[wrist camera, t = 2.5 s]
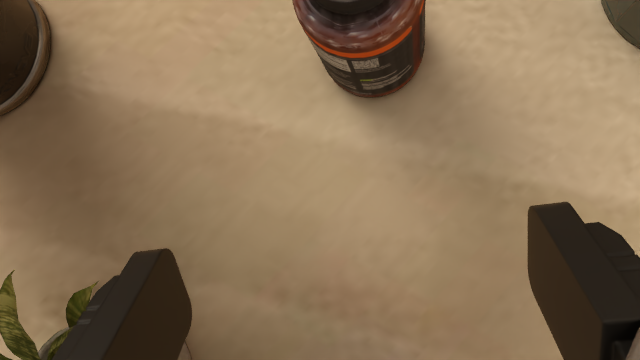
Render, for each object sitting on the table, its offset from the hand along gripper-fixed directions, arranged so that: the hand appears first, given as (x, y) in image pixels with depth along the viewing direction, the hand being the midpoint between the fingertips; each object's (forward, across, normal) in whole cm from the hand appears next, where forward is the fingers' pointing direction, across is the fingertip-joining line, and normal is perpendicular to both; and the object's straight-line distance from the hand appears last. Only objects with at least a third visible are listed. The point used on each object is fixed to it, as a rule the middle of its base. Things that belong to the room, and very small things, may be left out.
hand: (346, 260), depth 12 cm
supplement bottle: (+22, -1, +1) cm, 22 cm away
